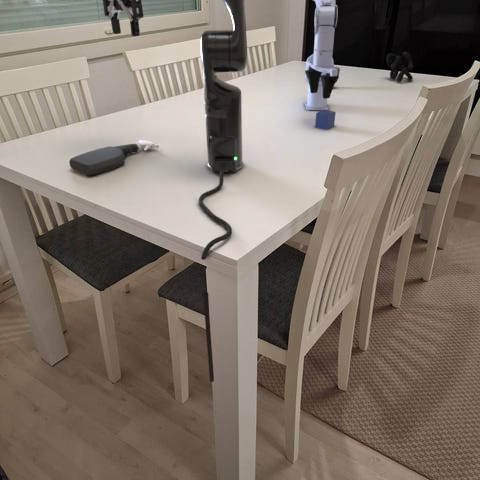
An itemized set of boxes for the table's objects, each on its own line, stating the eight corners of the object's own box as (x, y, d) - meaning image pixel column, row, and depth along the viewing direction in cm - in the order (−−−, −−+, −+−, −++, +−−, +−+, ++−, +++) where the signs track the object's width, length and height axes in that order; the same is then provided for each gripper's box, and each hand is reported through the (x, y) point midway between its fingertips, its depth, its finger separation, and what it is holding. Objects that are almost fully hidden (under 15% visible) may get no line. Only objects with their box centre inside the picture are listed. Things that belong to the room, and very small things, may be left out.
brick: (334, 126, 147) (335, 111, 144) (326, 129, 144) (328, 115, 141) (322, 123, 149) (323, 109, 147) (315, 127, 146) (316, 112, 144)
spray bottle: (67, 168, 120) (139, 144, 136) (91, 178, 114) (163, 151, 130) (65, 157, 118) (137, 134, 134) (89, 167, 112) (162, 142, 128)
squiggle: (400, 92, 202) (376, 71, 205) (417, 76, 202) (392, 56, 205) (405, 81, 191) (380, 59, 194) (423, 64, 191) (397, 42, 194)
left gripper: (145, -34, 114) (153, 35, 122) (112, -34, 122) (121, 31, 130) (121, -34, 109) (131, 38, 118) (88, -33, 117) (100, 34, 126)
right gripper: (348, 52, 132) (343, 99, 139) (322, 45, 144) (318, 89, 151) (327, 54, 130) (323, 101, 137) (302, 47, 141) (300, 91, 148)
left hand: (126, 34), depth 124 cm, fingers open, 8 cm apart
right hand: (319, 95), depth 144 cm, fingers open, 7 cm apart
